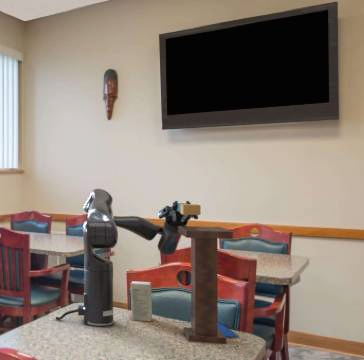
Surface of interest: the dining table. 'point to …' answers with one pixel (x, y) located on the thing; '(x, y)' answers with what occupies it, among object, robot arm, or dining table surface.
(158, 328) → the dining table surface
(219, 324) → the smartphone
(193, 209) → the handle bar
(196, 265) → the shelf stand
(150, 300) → the cosmetic box
